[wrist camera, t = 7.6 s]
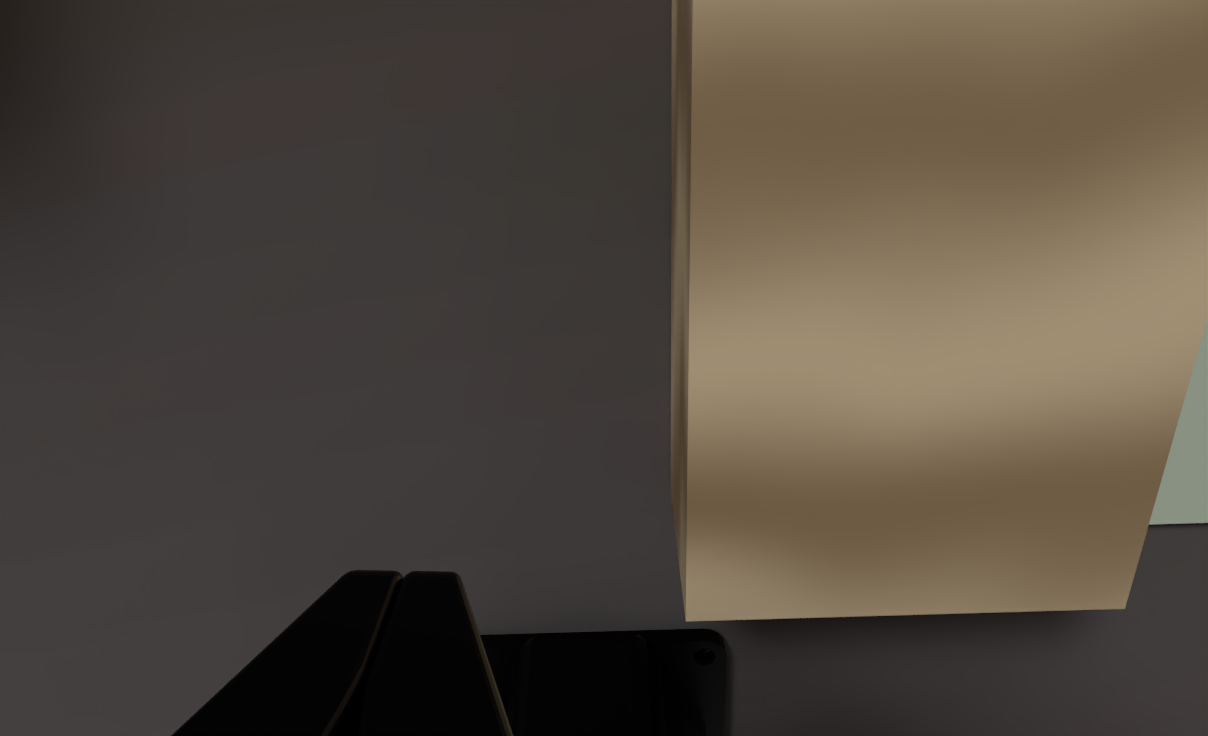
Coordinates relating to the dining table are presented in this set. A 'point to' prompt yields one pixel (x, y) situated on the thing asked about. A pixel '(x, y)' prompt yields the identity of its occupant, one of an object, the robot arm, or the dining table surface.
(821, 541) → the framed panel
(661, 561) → the dining table surface
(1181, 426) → the mat
